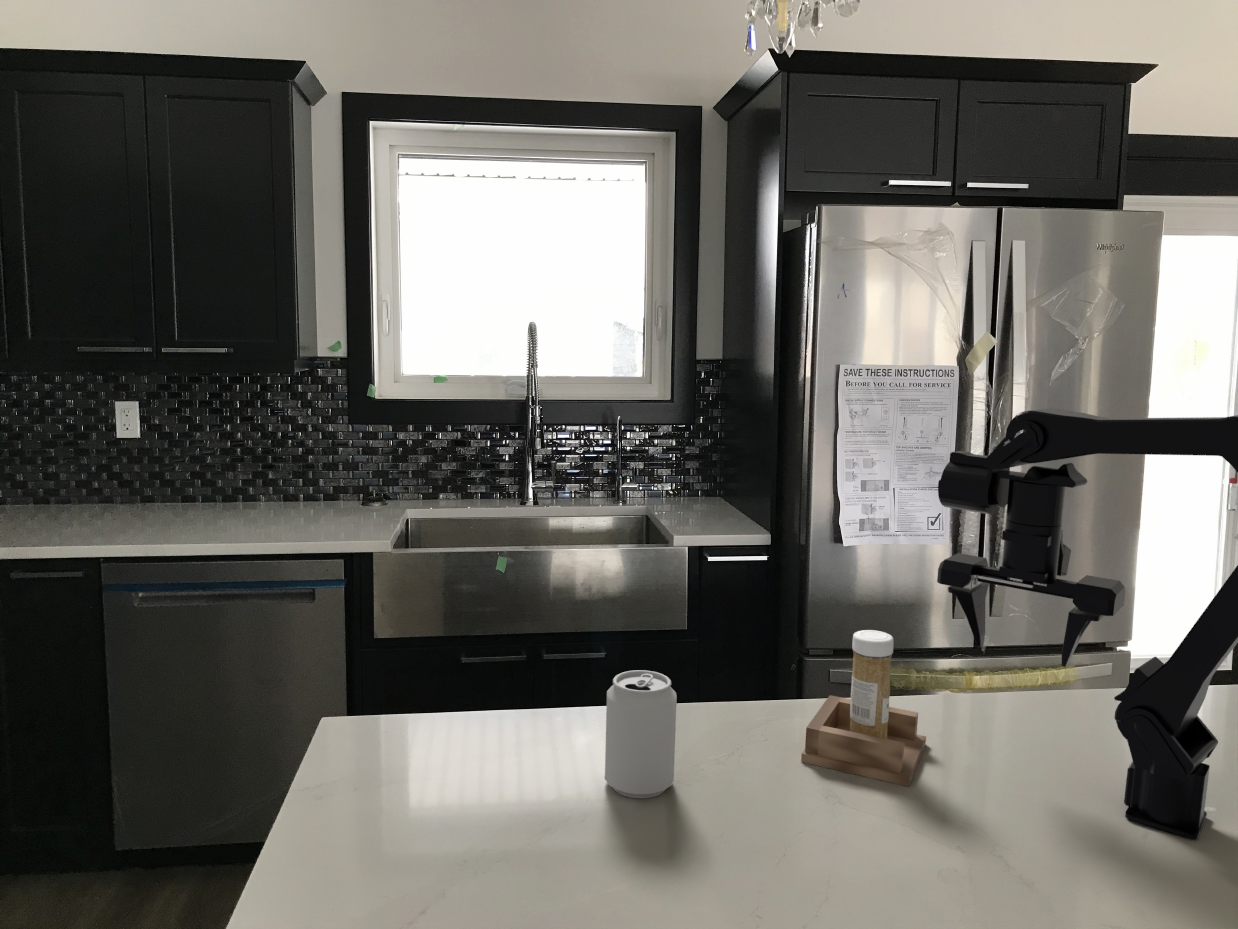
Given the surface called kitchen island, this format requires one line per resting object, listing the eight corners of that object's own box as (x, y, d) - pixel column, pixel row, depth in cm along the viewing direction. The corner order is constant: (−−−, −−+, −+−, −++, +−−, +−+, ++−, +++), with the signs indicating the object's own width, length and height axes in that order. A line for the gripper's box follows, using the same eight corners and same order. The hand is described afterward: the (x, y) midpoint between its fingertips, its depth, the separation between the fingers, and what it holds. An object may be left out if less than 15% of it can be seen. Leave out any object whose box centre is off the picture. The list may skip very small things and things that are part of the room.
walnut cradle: (925, 744, 113) (928, 712, 112) (908, 786, 102) (911, 752, 102) (826, 723, 118) (828, 693, 118) (801, 761, 108) (802, 728, 107)
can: (591, 790, 100) (594, 683, 98) (624, 763, 106) (626, 661, 105) (655, 809, 96) (658, 697, 95) (684, 779, 103) (688, 674, 101)
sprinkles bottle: (895, 749, 109) (902, 638, 107) (864, 756, 107) (870, 643, 105) (870, 734, 113) (876, 626, 111) (839, 740, 111) (844, 631, 109)
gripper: (1142, 523, 105) (1127, 657, 107) (973, 500, 116) (963, 622, 119) (1120, 539, 96) (1104, 684, 98) (940, 513, 108) (930, 643, 110)
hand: (1021, 655), depth 107 cm, fingers open, 9 cm apart
